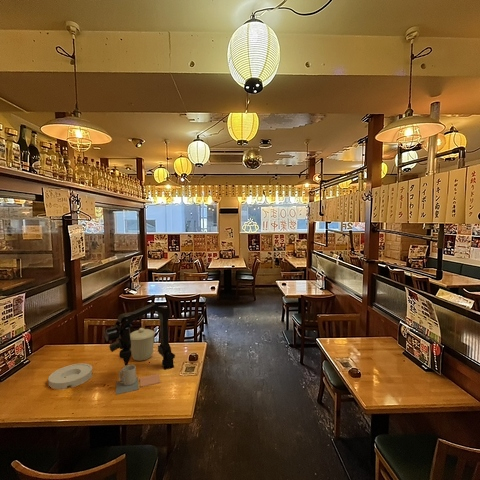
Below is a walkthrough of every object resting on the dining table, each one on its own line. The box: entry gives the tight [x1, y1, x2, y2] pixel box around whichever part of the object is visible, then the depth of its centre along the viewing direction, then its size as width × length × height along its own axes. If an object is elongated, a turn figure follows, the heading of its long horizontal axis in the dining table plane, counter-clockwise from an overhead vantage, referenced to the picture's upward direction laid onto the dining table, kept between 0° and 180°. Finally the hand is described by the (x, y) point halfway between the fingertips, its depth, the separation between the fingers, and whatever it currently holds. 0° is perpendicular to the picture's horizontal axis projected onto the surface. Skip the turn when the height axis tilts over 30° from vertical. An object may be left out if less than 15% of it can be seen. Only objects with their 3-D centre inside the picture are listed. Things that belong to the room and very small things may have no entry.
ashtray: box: [47, 363, 93, 390], centre depth 174 cm, size 23×23×4 cm
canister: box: [130, 327, 156, 362], centre depth 200 cm, size 18×18×21 cm
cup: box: [118, 364, 137, 386], centre depth 167 cm, size 7×10×9 cm
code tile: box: [115, 376, 140, 396], centre depth 165 cm, size 12×14×1 cm
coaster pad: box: [139, 373, 161, 388], centre depth 170 cm, size 11×10×1 cm
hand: (126, 362), depth 167 cm, fingers open, 9 cm apart
